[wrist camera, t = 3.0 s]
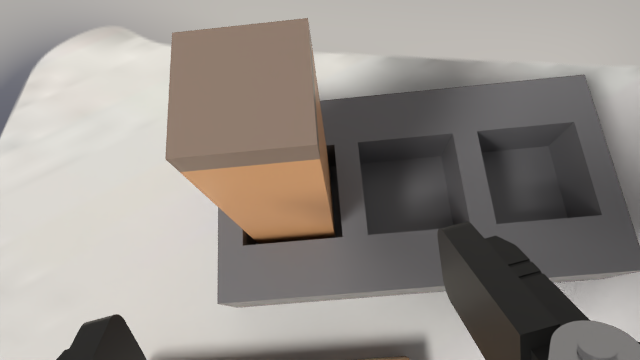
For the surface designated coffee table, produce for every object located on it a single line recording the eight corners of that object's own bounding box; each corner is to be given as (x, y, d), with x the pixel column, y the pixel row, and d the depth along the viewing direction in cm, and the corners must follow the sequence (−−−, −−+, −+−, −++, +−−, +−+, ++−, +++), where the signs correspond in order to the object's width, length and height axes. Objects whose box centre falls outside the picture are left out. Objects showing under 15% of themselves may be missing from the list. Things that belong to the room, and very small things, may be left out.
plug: (330, 172, 25) (307, 18, 12) (336, 241, 23) (317, 144, 11) (261, 179, 25) (172, 32, 13) (262, 247, 24) (165, 158, 11)
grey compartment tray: (554, 107, 26) (584, 74, 22) (603, 278, 22) (647, 269, 19) (235, 138, 26) (219, 110, 23) (236, 307, 23) (217, 303, 20)
